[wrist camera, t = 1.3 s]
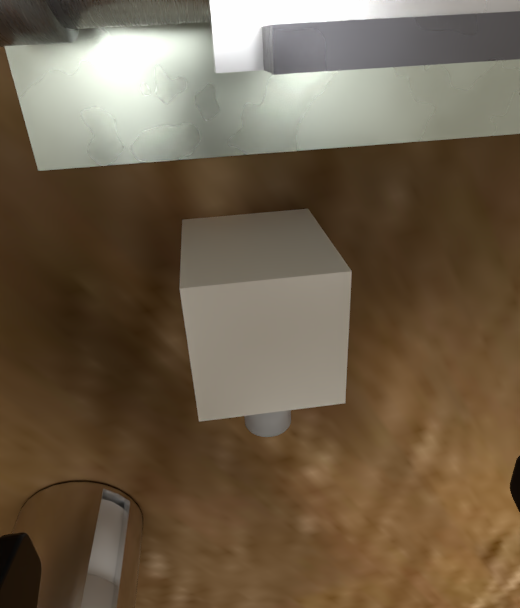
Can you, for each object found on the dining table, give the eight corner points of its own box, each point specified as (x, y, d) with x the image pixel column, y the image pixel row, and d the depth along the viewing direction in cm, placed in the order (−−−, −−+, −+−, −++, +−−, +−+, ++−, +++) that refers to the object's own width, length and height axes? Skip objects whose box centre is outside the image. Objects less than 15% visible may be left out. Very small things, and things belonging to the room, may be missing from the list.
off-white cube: (307, 208, 19) (351, 271, 14) (307, 352, 23) (343, 445, 17) (182, 219, 19) (179, 288, 14) (201, 364, 22) (205, 464, 17)
